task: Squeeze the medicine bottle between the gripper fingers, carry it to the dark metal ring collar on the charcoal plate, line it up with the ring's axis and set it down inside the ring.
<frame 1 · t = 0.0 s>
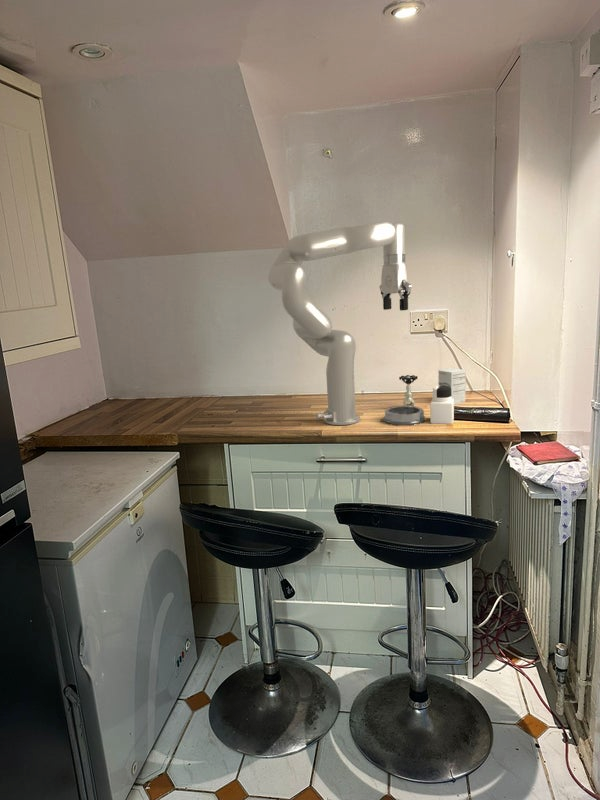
hand: (395, 309, 204), 37 cm above the counter, tool pointing down, fingers open, 9 cm apart
medicine bottle: (442, 421, 194), on the counter
ring collar: (404, 420, 198), on the counter
valve: (408, 408, 214), on the counter
supplement box: (451, 402, 219), on the counter
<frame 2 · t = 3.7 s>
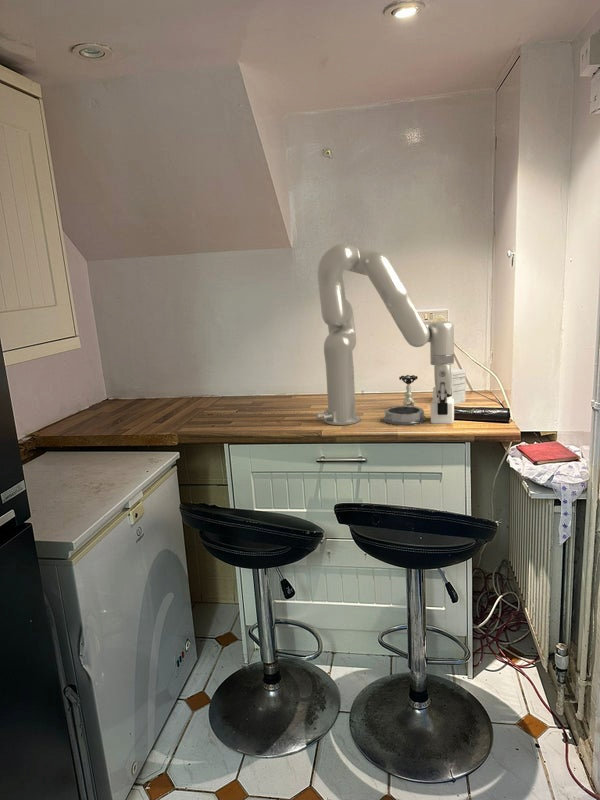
hand: (442, 411, 193), 3 cm above the counter, tool pointing down, fingers closed on medicine bottle, 7 cm apart
medicine bottle: (442, 421, 194), on the counter, touching gripper
everything else where it was.
when the fingers open (6 cm above the counter, at t = 9.7 s): medicine bottle drops 1 cm, resting on ring collar.
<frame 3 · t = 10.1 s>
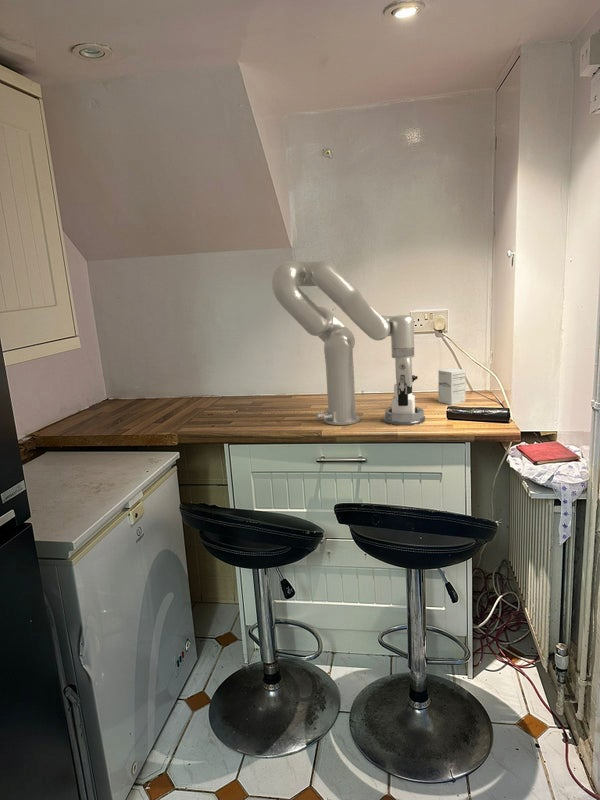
hand: (403, 402, 196), 6 cm above the counter, tool pointing down, fingers open, 9 cm apart
medicine bottle: (403, 418, 197), point 1 cm above the counter, touching ring collar
everything else where it was.
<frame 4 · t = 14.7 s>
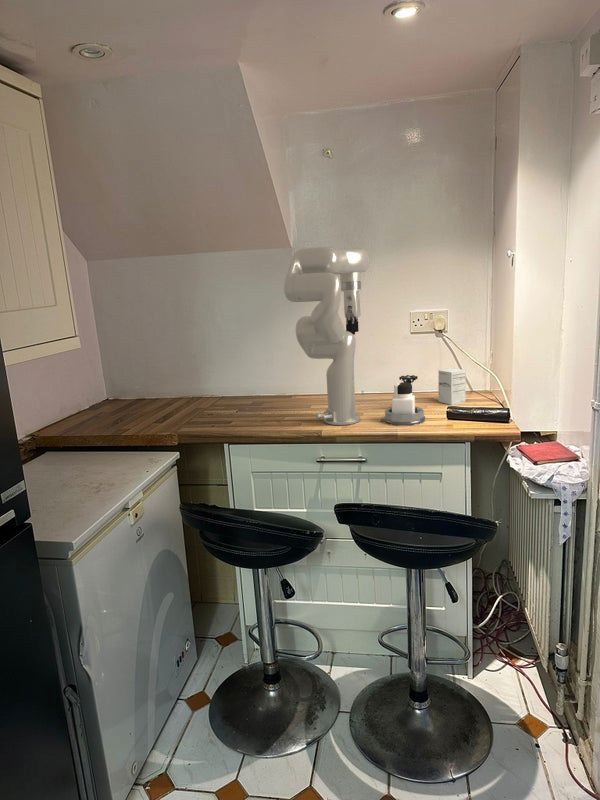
hand: (352, 333, 215), 28 cm above the counter, tool pointing down, fingers open, 9 cm apart
nothing on the counter moved.
at the end: medicine bottle 0.2 cm off-centre on the ring collar, point 0.8 cm above the ring collar's base; medicine bottle tilted 0°; the gripper is holding nothing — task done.
